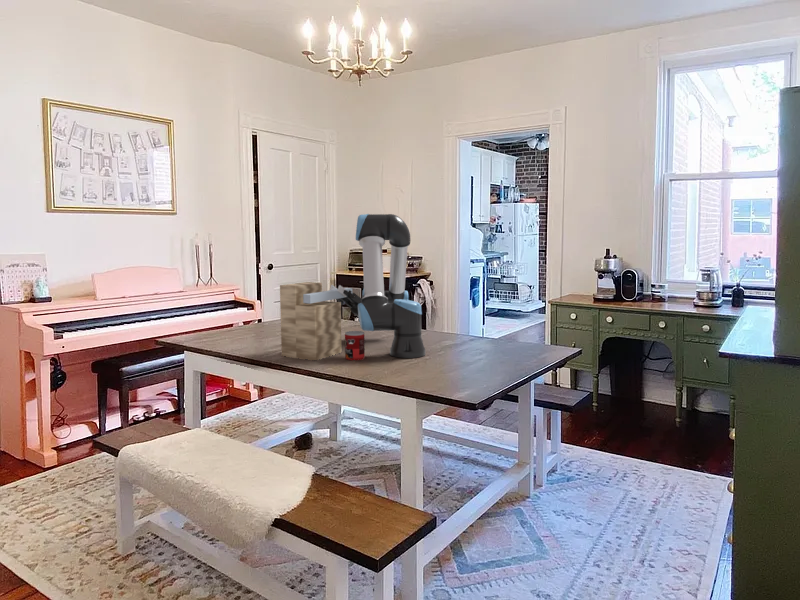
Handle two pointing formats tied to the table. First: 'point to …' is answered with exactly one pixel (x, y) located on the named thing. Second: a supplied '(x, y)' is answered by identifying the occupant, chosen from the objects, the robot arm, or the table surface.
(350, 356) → the canned food
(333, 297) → the rail
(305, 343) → the stand
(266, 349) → the table surface
